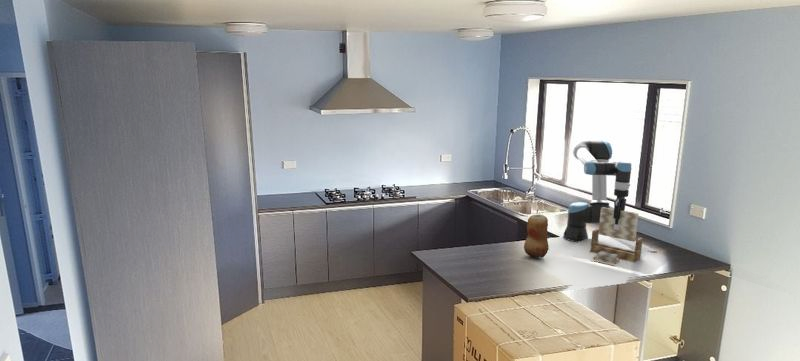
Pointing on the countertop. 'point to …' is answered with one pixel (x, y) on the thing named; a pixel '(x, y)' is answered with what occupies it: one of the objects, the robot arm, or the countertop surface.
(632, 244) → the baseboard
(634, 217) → the patterned board
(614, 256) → the grey mdf offcut
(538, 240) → the butternut squash
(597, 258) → the grey textured block
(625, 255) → the oak rack
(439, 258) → the countertop surface
